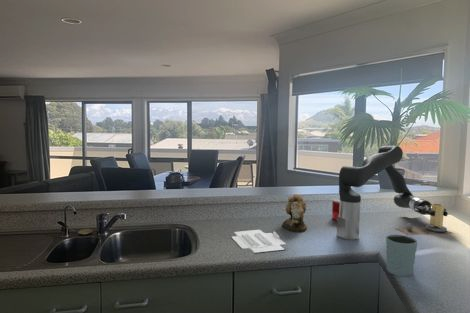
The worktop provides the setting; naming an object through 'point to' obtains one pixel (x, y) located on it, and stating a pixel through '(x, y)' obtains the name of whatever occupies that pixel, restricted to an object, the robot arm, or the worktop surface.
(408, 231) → the walnut board
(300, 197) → the brown bust statue
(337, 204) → the canned food
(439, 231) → the disc
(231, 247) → the worktop surface
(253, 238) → the white paper stack
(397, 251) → the pale green pot
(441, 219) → the brass sleeve
